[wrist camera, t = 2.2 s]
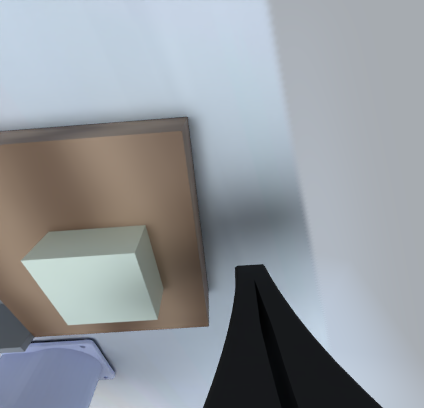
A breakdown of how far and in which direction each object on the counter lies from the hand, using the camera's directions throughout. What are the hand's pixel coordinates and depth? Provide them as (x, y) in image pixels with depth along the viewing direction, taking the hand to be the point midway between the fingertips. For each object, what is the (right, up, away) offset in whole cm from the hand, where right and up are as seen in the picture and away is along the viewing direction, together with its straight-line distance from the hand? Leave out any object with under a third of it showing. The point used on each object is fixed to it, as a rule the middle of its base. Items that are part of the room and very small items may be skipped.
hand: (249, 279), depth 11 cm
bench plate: (-9, +2, +4) cm, 10 cm away
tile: (-8, 0, +2) cm, 8 cm away
